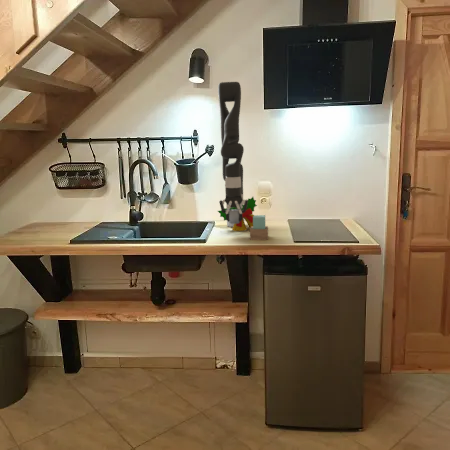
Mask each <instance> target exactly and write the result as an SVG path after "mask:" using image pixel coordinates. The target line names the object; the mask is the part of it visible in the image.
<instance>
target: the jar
mask: <svg viewBox="0 0 450 450" xmlns="http://www.w3.org/2000/svg"><path fill="white" fill-rule="evenodd" d="M239 214H240V213H239V210H238V209H232V210H229V223H230V224H237V223H240V221H239Z"/></svg>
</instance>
